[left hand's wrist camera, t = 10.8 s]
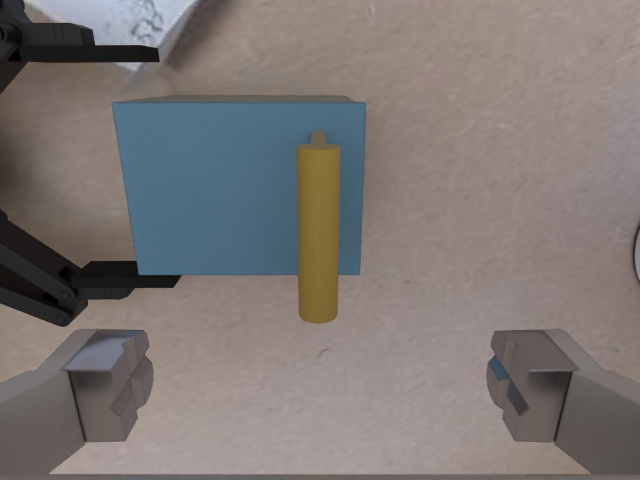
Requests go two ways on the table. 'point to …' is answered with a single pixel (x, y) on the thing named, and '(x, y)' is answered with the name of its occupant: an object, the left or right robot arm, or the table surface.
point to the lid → (247, 191)
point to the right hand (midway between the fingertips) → (166, 173)
